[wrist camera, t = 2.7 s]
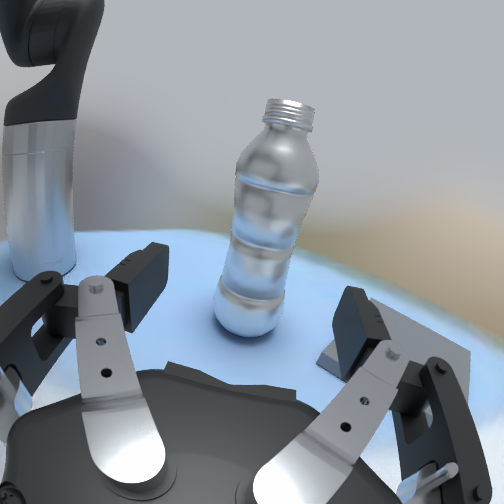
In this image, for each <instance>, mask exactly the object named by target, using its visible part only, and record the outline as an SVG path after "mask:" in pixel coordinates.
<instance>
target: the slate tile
mask: <svg viewBox="0 0 504 504" xmlns="http://www.w3.org/2000/svg"><path fill="white" fill-rule="evenodd" d="M369 301H371V302H372V303H373V304H374V305H375V306H376V307H377V308H378V309H379V312H380V314H381V317H382V318H383V321H384V324H385V325H386V328H387V330H388V332H389V335H390V337H391V340H392V341H395V342H397V343H399V344H401V345H402V346H403V347H404V348H405V349H406V350H407V352H408V353H409V357H410V360H411V361H414V362H417V363H420V364H423V365H424V364H425V363H426V361H427V360H428V359H429V358H430V357H439V358H442V359H444V360H445V361H446V362H448V363H449V365H450V366H451V367H452V369H453V371H454V373H455V376H456V378H457V380H458V383H459V385H460V387H461V390H462V392H463V394H464V397H465V399H466V402H467V404H468V394H469V381H470V351H469V350H467V349H465V348H463V347H461V346H460V345H458V344H456V343H454V342H452V341H450V340H449V339H447V338H445V337H443V336H441V335H440V334H438V333H436V332H434V331H432V330H430V329H429V328H427V327H425V326H423V325H421V324H419V323H418V322H416V321H414V320H412V319H410V318H408V317H407V316H405V315H403V314H401V313H399V312H397V311H395V310H393V309H392V308H390V307H388V306H386V305H384V304H382V303H380V302H379V301H377V300H375V299H373V298H371V299H370V300H369ZM316 364H318V365H319V366H321V367H322V368H324V369H326V370H327V371H329V372H330V373H332V374H334V375H335V376H337V377H338V378H340V379H341V373H340V367H339V361H338V355H337V349H336V343H335V339H334V340H333V341H332V342H331V343H330V344H329V345H328V346H327V347H326V348H325V349H324V350H323V351H322V353H321V355H320V357H319V359H318V361H317V363H316ZM345 382H347V383H348V381H345ZM425 415H426V418H427V422H428V426H429V427H430V426H431V424H432V421H433V415H432V411H431V408H430V406H429V407H428V408H427V409H426V410H425Z"/></svg>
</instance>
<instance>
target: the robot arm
mask: <svg viewBox="0 0 504 504" xmlns="http://www.w3.org/2000/svg"><path fill="white" fill-rule="evenodd" d="M103 11H104V0H0V32H1V36H2V39H3V42H4V45H5V48H6V50H7V53H8V55H9V57H10V59H11V60H12V62H13V63H14V64H15V65H17V66H20V67H35V66H42V65H50V64H55V66H54V68H53V70H52V71H51V72H50V73H49V74H48V75H47V76H46V77H45V78H44V79H42V80H41V81H40V82H39V83H37V84H36V85H34V86H33V87H31V88H30V89H28V90H26V91H24V92H23V93H21V94H19V95H17V96H15V97H14V98H12V99H11V100H10V101H9V102H8V104H7V106H6V110H5V117H4V126H5V127H4V128H3V144H2V183H3V199H4V211H5V220H6V228H7V234H8V241H9V248H10V253H11V258H12V263H13V267H14V272H15V274H16V275H17V276H18V277H19V278H20V279H22V280H25V281H29V282H27V283H26V284H25V285H24V286H23V287H21V288H20V289H19V290H18V291H17V292H16V293H15V294H13V295H12V296H11V297H10V298H9V299H8V300H7V301H6V302H4V303H3V304H2V305H1V306H0V442H1V443H2V444H3V445H4V446H6V464H5V471H4V475H3V479H2V482H1V484H0V504H489V503H490V501H491V498H492V486H491V481H490V477H489V472H488V468H487V464H486V460H485V456H484V453H483V449H482V446H481V442H480V439H479V436H478V433H477V430H476V427H475V424H474V421H473V418H472V415H471V413H470V410H469V407H468V405H467V402H466V399H465V397H464V394H463V392H462V390H461V387H460V385H459V383H458V380H457V378H456V376H455V373H454V371H453V369H452V367H451V366H450V365H449V363H448V362H446V361H445V360H444V359H442V358H439V357H430V358H429V359H428V360H427V361H426V363H425V364H424V365H423V364H420V363H417V362H414V361H411V360H410V357H409V353H408V352H407V350H406V349H405V348H404V347H403V346H402V345H401V344H399V343H397V342H395V341H392V340H391V337H390V335H389V332H388V330H387V328H386V325H385V324H384V321H383V318H382V317H381V314H380V312H379V309H378V308H377V307H376V306H375V305H374V304H373V303H372V302H371V301H369V300H368V298H367V296H366V294H365V291H364V289H361V288H357V287H352V286H347V287H346V288H345V290H344V292H343V295H342V297H341V299H340V302H339V304H338V307H337V309H336V311H335V314H334V317H333V323H332V327H333V333H334V338H335V343H336V349H337V355H338V361H339V367H340V373H341V379H342V381H348V383H347V384H346V385H345V386H344V387H343V389H342V390H341V391H340V392H339V393H338V394H337V396H336V397H335V398H334V399H333V400H332V401H331V402H330V404H329V405H328V406H327V407H326V408H325V409H324V410H323V411H322V412H321V414H320V413H319V412H318V411H317V410H315V409H314V408H313V407H311V406H309V405H307V404H305V403H303V402H301V401H299V400H296V390H293V389H286V388H280V387H274V386H268V385H230V384H227V383H225V382H223V381H220V380H218V379H216V378H214V377H212V376H210V375H208V374H206V373H204V372H202V371H200V370H197V369H193V368H189V367H186V366H182V365H179V364H176V363H172V362H169V361H168V362H167V364H166V367H165V369H164V370H162V369H149V370H142V371H137V372H135V368H134V365H133V362H132V358H131V354H130V351H129V347H128V343H127V339H126V335H125V331H127V332H130V333H133V332H134V331H135V329H136V328H137V326H138V325H139V323H140V322H141V321H142V319H143V318H144V316H145V315H146V314H147V312H148V311H149V309H150V308H151V307H152V305H153V304H154V303H155V301H156V300H157V298H158V297H159V296H160V294H161V293H162V292H163V290H164V289H165V287H166V284H167V280H168V265H169V246H168V245H164V244H159V243H155V242H152V243H150V244H149V245H148V246H147V247H146V248H145V249H143V250H138V251H135V252H133V253H130V254H129V255H128V256H127V257H126V258H125V259H124V260H122V261H121V262H120V263H119V264H118V265H116V266H115V267H114V268H113V269H112V270H111V271H110V272H108V273H107V274H106V275H105V276H91V277H88V278H86V279H84V280H82V281H81V282H80V284H79V286H76V285H67V284H64V283H63V277H62V275H64V274H65V273H67V272H68V271H69V270H70V269H72V268H73V266H74V265H75V263H76V252H75V241H74V226H73V225H74V224H73V198H72V196H73V194H72V193H73V192H72V187H73V186H72V184H73V155H74V154H73V153H74V139H75V129H76V120H75V119H76V118H77V111H78V104H79V99H80V93H81V88H82V83H83V78H84V73H85V70H86V65H87V62H88V59H89V55H90V52H91V49H92V47H93V44H94V41H95V38H96V35H97V32H98V29H99V26H100V23H101V19H102V16H103ZM40 317H42V320H43V323H44V324H43V325H42V326H41V327H40V329H39V330H38V331H37V332H36V333H35V334H34V335H33V337H32V338H31V330H32V327H33V325H34V324H35V323H36V322H37V321H38V320H39V319H40ZM73 338H74V339H76V349H77V362H78V372H79V381H80V389H81V393H80V394H78V395H75V396H72V397H70V398H67V399H64V400H61V401H59V402H56V403H53V404H50V405H47V406H44V407H41V408H38V409H35V410H32V411H31V408H32V398H31V397H32V396H33V394H34V393H35V391H36V390H37V388H38V387H39V385H40V384H41V382H42V381H43V379H44V378H45V376H46V375H47V373H48V372H49V370H50V369H51V368H52V366H53V365H54V363H55V362H56V361H57V359H58V358H59V357H60V355H61V354H62V352H63V351H64V350H65V348H66V347H67V346H68V344H69V343H70V342H71V340H72V339H73ZM429 406H430V408H431V411H432V415H433V421H432V424H431V426H430V427H429V426H428V422H427V418H426V415H425V410H426V409H427V408H428V407H429ZM388 410H392V415H393V421H394V427H395V432H396V439H397V445H398V452H399V460H400V468H401V478H402V482H401V483H400V485H399V486H398V489H397V493H396V494H395V493H394V492H393V491H392V490H391V489H390V488H389V487H388V486H387V485H386V484H385V483H384V482H383V481H382V480H381V479H380V478H379V477H378V476H377V475H376V473H375V472H374V471H373V470H372V469H371V468H370V467H369V466H368V465H367V464H366V463H365V462H364V461H363V460H362V459H361V458H360V455H361V453H362V452H363V450H364V449H365V447H366V446H367V444H368V443H369V441H370V440H371V438H372V436H373V435H374V433H375V432H376V430H377V428H378V427H379V425H380V423H381V422H382V420H383V418H384V416H385V415H386V413H387V411H388Z"/></svg>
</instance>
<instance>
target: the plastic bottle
mask: <svg viewBox="0 0 504 504" xmlns="http://www.w3.org/2000/svg"><path fill="white" fill-rule="evenodd" d="M314 110H315V109H314V108H312V107H310V106H307V105H304V104H300V103H297V102H293V101H288V100H281V99H269V100H268V102H267V106H266V111H265V116H263V119H262V122H265V123H266V125H265V128H264V130H263V131H262V132H261V133H260V134H259V135H258V136H257V137H256V138H255V139H254V140H253V141H251V143H250V144H249V145H248V146H247V147H246V148H245V149H244V151H243V152H242V153H241V155H240V157H239V159H238V161H237V164H236V172H235V175H236V178H235V197H234V214H233V223H232V232H231V238H230V245H229V249H228V253H227V257H226V261H225V264H224V268H223V272H222V275H221V277H220V279H219V281H218V284H217V288H216V291H215V295H214V309H215V315H216V317H217V319H218V320H219V322H220V323H221V324H222V326H223V327H224V328H225V329H226V330H228V331H229V332H231V333H233V334H235V335H239V336H243V337H258V336H261V335H263V334H265V333H267V332H269V331H270V330H272V329H273V328H274V327H275V325H276V323H277V321H278V320H279V318H280V316H281V314H282V310H283V304H284V298H285V284H286V279H287V274H288V269H289V263H290V258H291V255H292V252H293V249H294V244H295V243H296V240H297V237H298V234H299V231H300V228H301V225H302V222H303V220H304V218H305V215H306V213H307V210H308V208H309V206H310V203H311V201H312V199H313V194H314V192H315V191H316V188H317V185H318V182H319V174H318V167H317V164H316V160H315V157H314V155H313V152H312V150H311V148H310V145H309V143H308V141H307V133H308V132H312V129H313V126H312V122H313V117H314V113H315V112H314Z"/></svg>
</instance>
